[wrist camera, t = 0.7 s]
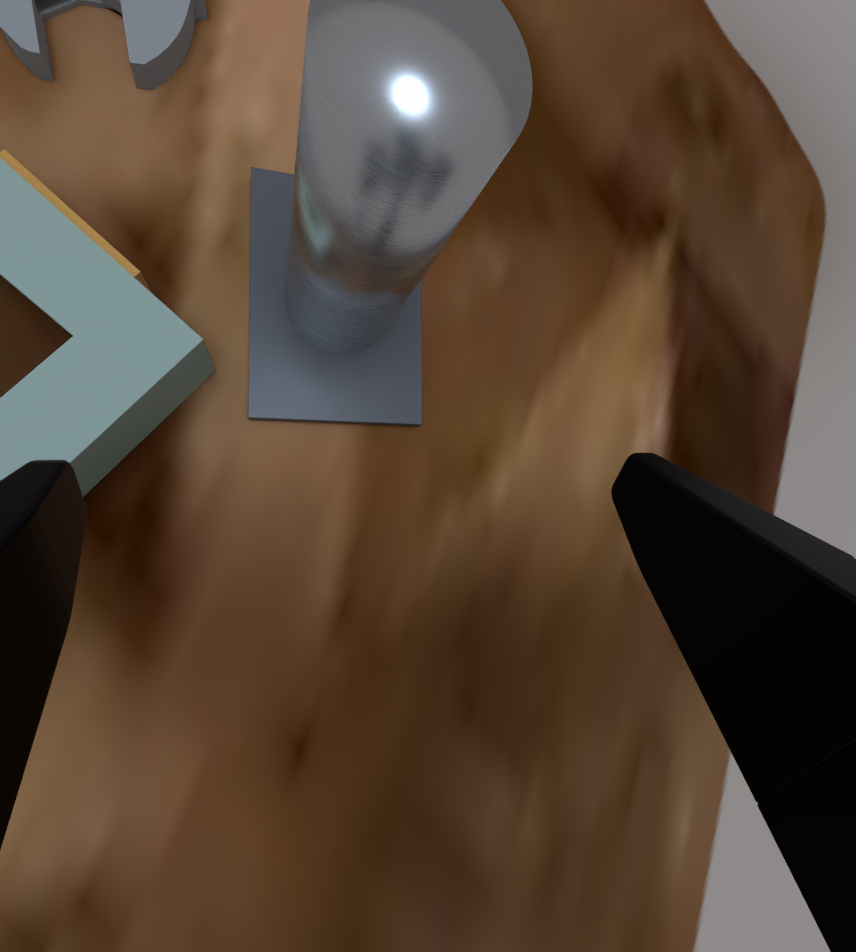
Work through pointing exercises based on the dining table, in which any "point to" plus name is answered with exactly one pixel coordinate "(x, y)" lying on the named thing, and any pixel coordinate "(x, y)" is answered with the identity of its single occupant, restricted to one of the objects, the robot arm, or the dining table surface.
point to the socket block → (86, 340)
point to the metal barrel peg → (393, 151)
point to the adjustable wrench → (146, 27)
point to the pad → (310, 367)
